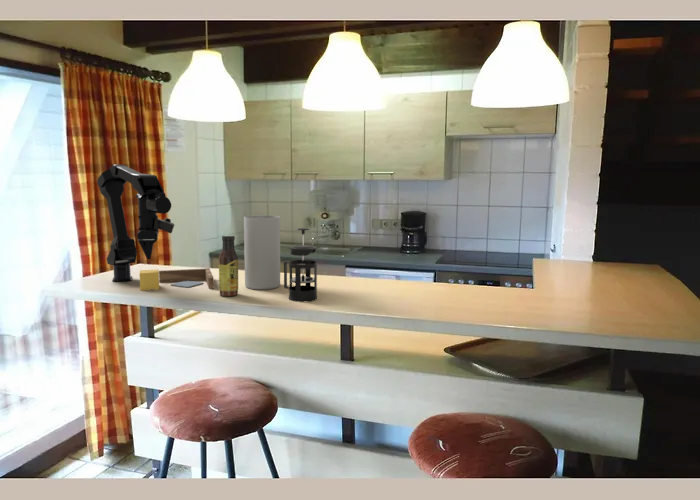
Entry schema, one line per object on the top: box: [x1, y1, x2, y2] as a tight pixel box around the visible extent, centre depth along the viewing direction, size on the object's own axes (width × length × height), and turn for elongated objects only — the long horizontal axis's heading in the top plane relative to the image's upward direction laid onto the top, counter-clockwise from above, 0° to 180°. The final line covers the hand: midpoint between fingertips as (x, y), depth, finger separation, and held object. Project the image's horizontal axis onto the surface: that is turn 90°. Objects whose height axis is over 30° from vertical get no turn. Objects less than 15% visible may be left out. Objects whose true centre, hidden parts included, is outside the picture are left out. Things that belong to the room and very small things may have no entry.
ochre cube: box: [139, 268, 160, 291], centre depth 179 cm, size 6×6×6 cm
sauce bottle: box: [218, 234, 239, 297], centre depth 170 cm, size 6×6×20 cm
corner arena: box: [159, 267, 215, 290], centre depth 185 cm, size 18×18×4 cm
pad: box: [170, 280, 204, 289], centre depth 185 cm, size 8×8×1 cm
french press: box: [283, 227, 318, 303], centre depth 166 cm, size 12×9×23 cm
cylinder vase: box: [243, 214, 281, 291], centre depth 183 cm, size 12×12×25 cm
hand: (149, 257), depth 178 cm, fingers open, 9 cm apart
